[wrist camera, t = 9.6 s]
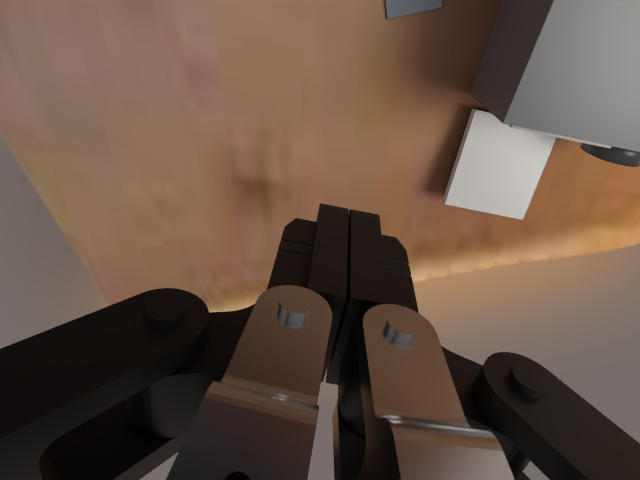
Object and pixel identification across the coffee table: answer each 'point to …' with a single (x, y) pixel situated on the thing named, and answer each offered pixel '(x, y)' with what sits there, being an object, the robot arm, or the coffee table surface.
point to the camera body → (567, 73)
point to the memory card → (410, 7)
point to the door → (497, 167)
